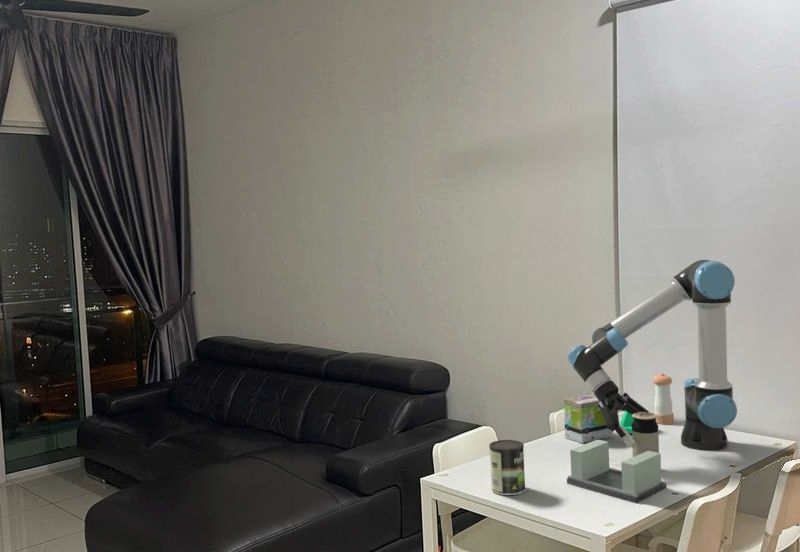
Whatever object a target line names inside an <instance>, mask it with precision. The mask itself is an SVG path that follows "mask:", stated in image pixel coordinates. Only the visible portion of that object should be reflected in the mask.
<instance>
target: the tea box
mask: <svg viewBox="0 0 800 552" xmlns="http://www.w3.org/2000/svg"><path fill="white" fill-rule="evenodd" d="M563 401H564V402H563V403H564V406H563V407H564V408H563V409H564V411H563V412H564V438H566V439H568V440H571V441H573V440H574V442H576V441H577V443H579V442H581V443H580V444H584V442H585V443H590V442H592V441H595V440H597V439H598V440H603V439H609V438H612V437H614V433H613V432H614V431H611V429H610V430H609V429H608V428H607V425H606V423H605V420H604V417H603V414H602V411H601V409H600V408H599V406H598V404H599V403H600V401H599V400H598V399H597V397H596V396H595V395H594V393H593V394H587V395H581V396H576V397H571V398H566V399H565V398H564V400H563ZM610 424H611V423H610ZM608 437H609V438H608ZM602 438H603V439H602Z"/></svg>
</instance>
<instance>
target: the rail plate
mask: <svg viewBox="0 0 800 552" xmlns="http://www.w3.org/2000/svg"><path fill="white" fill-rule="evenodd" d="M566 484H568V485H570V486H571V485H572V486H575V487H579V488H583V489H586V490H589V491H593V492H595V493H600V494H603V495H605V496H606V495H607V496H610V497H613V498H617V499H620V500H623V501H626V502H627V501H628V502H631V503H634V504H637V503H639V502H642V501H643V500H646V499H647V498H650V497H651V496H653V495H655V494H657V493H660V492H662V491H664V490H665V489H667V483H666V481H664V480H661V484H659V485H657V486H655V487H653V488H651V489H648V490H646V491H644V492H642V493H640V494H633V493H629V492H625V491H622V469H617V468H612V467H610V466H609V468H608V471H606V472H603V473H601V474H599V475H596V476H594V477H592V478H589V479H587V480H584V479H578V478H575V477H571V475H568V476H567V478H566Z"/></svg>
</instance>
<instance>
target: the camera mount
mask: <svg viewBox="0 0 800 552" xmlns="http://www.w3.org/2000/svg"><path fill="white" fill-rule="evenodd" d="M633 421H634V419H633V417H632V414H630V413H628V412H627V411H623V413H622V416H621V419H620V421H619V424H620V425H623V427H624V428H625V429H626V431H627V432H628V433H629V434H632V423H633ZM620 425H619V426H620Z"/></svg>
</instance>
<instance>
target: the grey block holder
mask: <svg viewBox="0 0 800 552" xmlns="http://www.w3.org/2000/svg"><path fill="white" fill-rule="evenodd" d="M609 444H610V443H609V441H607V440H606V441H605V440H603V439H598V440H593V441H589V442H586V443H585V444H584V443H583V444H582V445H580V446H577V447H574V448H571V449H570V450H569V451H570V472H571V474H570V476H571V477H575V478H578V479H584V480H587V479H589V478H592V477H594V476H596V475H599V474H601V473H603V472H606V471H608V468H609V467H610V452H609V451H610V450H609V449H610V448H609V447H610V446H609ZM661 458H662V457H661V453H660V452H659V453H656V452H652V451H647V452H644V453H642V454H639V455H637V456H635V457H633V456H632V457H630V458H628V459H625V460H623V461H621V467H620V468H621V471H622V491H625V492H629V493H633V494H640V493H642V492H644V491H646V490H648V489H651V488H653V487H655V486H657V485H659V484H661V481H662V459H661Z"/></svg>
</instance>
